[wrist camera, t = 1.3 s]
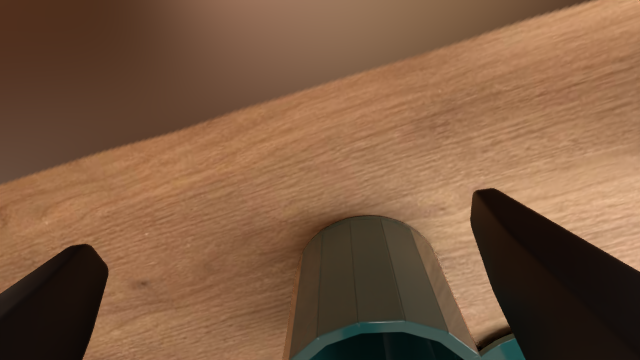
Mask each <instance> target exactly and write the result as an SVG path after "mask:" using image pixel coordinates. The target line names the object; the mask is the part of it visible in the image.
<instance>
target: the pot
mask: <svg viewBox="0 0 640 360" xmlns="http://www.w3.org/2000/svg"><path fill="white" fill-rule="evenodd" d="M282 360H482V358H481V355H480V353H479V351H478V349H477V346H476V344H475V342H474V340H473V337H472V335H471V333H470V331H469V328H468V326H467V324H466V322H465V319H464V317H463V315H462V313H461V311H460V308H459V306H458V304H457V302H456V299H455V297H454V295H453V293H452V290H451V288H450V286H449V284H448V281H447V279H446V277H445V275H444V272H443V270H442V268H441V266H440V263H439V261H438V259H437V257H436V255H435V253H434V251H433V249H432V246H431V245H430V244H429V243H428V241H427V240H426V239H425V238H424V237H423V236H422V235H421V234H420V233H419V232H418V231H416V230H415V229H413V228H412V227H410V226H409V225H407V224H405V223H403V222H400V221H397V220H395V219H391V218H387V217H380V216H359V217H352V218H348V219H344V220H341V221H339V222H336V223H334V224H332V225H330V226H328V227H326V228H325V229H323V230H322V231H320V232H319V233H318V234H317V235H316V236H314V237H313V238H312V239H311V241H310V242H309V243H308V244H307V246H306V247H305V249H304V250H303V252H302V254H301V257H300V259H299V263H298V267H297V270H296V273H295V279H294V286H293V293H292V299H291V306H290V313H289V319H288V326H287V333H286V339H285V346H284V353H283V359H282Z"/></svg>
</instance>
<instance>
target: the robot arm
mask: <svg viewBox="0 0 640 360" xmlns="http://www.w3.org/2000/svg"><path fill="white" fill-rule="evenodd" d="M470 222H471V227H472V231H473V234H474V237H475V240H476V243H477V246H478V249H479V251H480V254H481V257H482V260H483V263H484V266H485V269H486V272H487V275H488V278H489V281H490V284H491V286H492V289H493V292H494V294H495V296H496V298H497V301H498V303H499V305H500V307H501V309H502V311H503V313H504V315H505V318H506V320H507V322H508V324H509V326H510V328H511V330H512V332H513V334H514V336H515V338H516V341H517V343H518V345H519V347H520V349H521V351H522V353H523V355H524V357H525V359H526V360H640V272H639V271H637V270H636V269H634V268H632V267H630V266H629V265H627V264H625V263H623V262H622V261H620V260H618V259H617V258H615V257H613V256H611V255H610V254H608V253H606V252H604V251H603V250H601V249H599V248H597V247H596V246H594V245H592V244H591V243H589V242H587V241H585V240H584V239H582V238H580V237H578V236H577V235H575V234H573V233H572V232H570V231H568V230H566V229H565V228H563V227H561V226H559V225H558V224H556V223H554V222H552V221H551V220H549V219H547V218H546V217H544V216H542V215H540V214H539V213H537V212H535V211H533V210H532V209H530V208H528V207H526V206H525V205H523V204H521V203H520V202H518V201H516V200H514V199H513V198H511V197H509V196H507V195H506V194H504V193H502V192H500V191H499V190H497V189H494V188H489V189H481V190H476V191H475V192H474V193H473V197H472V206H471V217H470ZM108 272H109V271H108V267H107V265H106V263H105V262H104V261H103V260H102V258H101V257H100V256H99V255H98V253H97V252H96V251H95V250H94V248H93V247H92V246H90V245H88V244H81V245H73V246H70V247H68V248H66V249H65V250H63V251H62V252H60V253H59V254H57V255H56V256H55V257H53V258H52V259H50V260H49V261H47V262H46V263H44V264H43V265H41V266H40V267H39V268H37V269H36V270H34V271H33V272H31V273H30V274H28V275H27V276H25V277H24V278H23V279H21V280H20V281H18V282H17V283H15V284H14V285H12V286H11V287H10V288H8V289H7V290H5V291H4V292H2V293H1V294H0V360H82V359H83V357H84V354H85V352H86V349H87V346H88V344H89V341H90V338H91V335H92V332H93V329H94V325H95V322H96V318H97V315H98V311H99V307H100V304H101V300H102V296H103V293H104V289H105V286H106V282H107V278H108Z"/></svg>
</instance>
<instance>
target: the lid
mask: <svg viewBox="0 0 640 360" xmlns="http://www.w3.org/2000/svg"><path fill="white" fill-rule="evenodd" d="M479 353H480V355H481V358H482V360H526V359H525V357H524V355H523V353H522V351H521V349H520V347H519V345H518V343H517V341H516V338H515V336H514V334H513V333H512V334H509V335H507V336H504V337H502V338H500V339H498V340H496V341H494V342H492V343H491V344H489V345H487V346H486V347H485V348H483V349H482V350H481V351H479Z"/></svg>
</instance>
